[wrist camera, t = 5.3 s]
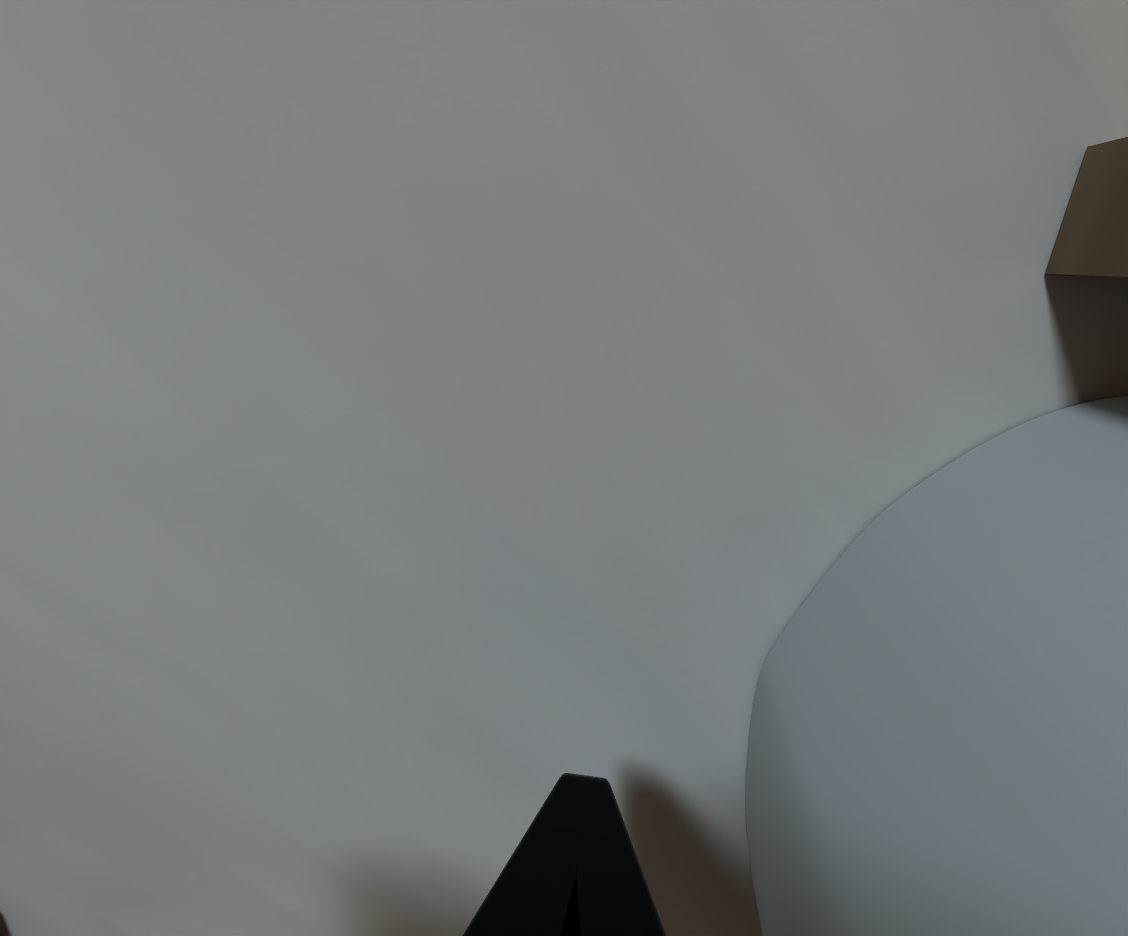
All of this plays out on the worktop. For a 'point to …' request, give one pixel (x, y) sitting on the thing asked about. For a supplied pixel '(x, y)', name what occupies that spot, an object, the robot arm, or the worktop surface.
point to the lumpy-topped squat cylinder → (958, 706)
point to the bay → (1096, 217)
